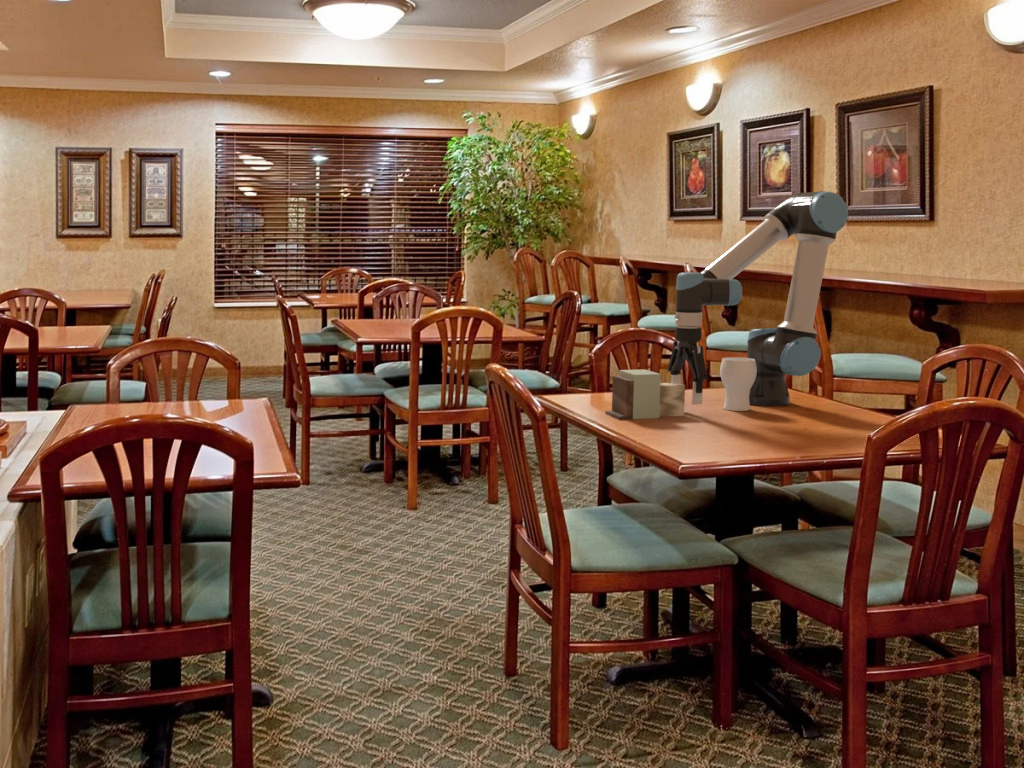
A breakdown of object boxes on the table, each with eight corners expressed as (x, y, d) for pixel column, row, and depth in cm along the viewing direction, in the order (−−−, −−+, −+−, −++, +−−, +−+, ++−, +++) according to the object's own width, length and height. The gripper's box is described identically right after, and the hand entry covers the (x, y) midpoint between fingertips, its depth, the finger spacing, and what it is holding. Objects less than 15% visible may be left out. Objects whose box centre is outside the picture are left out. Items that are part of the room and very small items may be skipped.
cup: (755, 412, 310) (757, 361, 308) (718, 411, 312) (720, 360, 310) (754, 407, 321) (756, 357, 318) (718, 405, 323) (720, 356, 321)
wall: (618, 413, 306) (619, 375, 304) (632, 419, 296) (633, 380, 295) (605, 414, 304) (606, 376, 303) (619, 420, 295) (620, 380, 293)
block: (643, 412, 308) (644, 369, 306) (659, 418, 298) (660, 374, 297) (618, 413, 306) (619, 370, 304) (632, 419, 296) (634, 374, 294)
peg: (675, 413, 308) (677, 382, 307) (683, 416, 304) (685, 385, 302) (631, 415, 304) (632, 384, 303) (638, 418, 299) (639, 386, 298)
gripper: (657, 323, 314) (655, 394, 317) (696, 331, 290) (694, 407, 293) (680, 322, 316) (678, 393, 319) (721, 330, 292) (718, 406, 295)
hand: (686, 400), depth 306 cm, fingers open, 13 cm apart
